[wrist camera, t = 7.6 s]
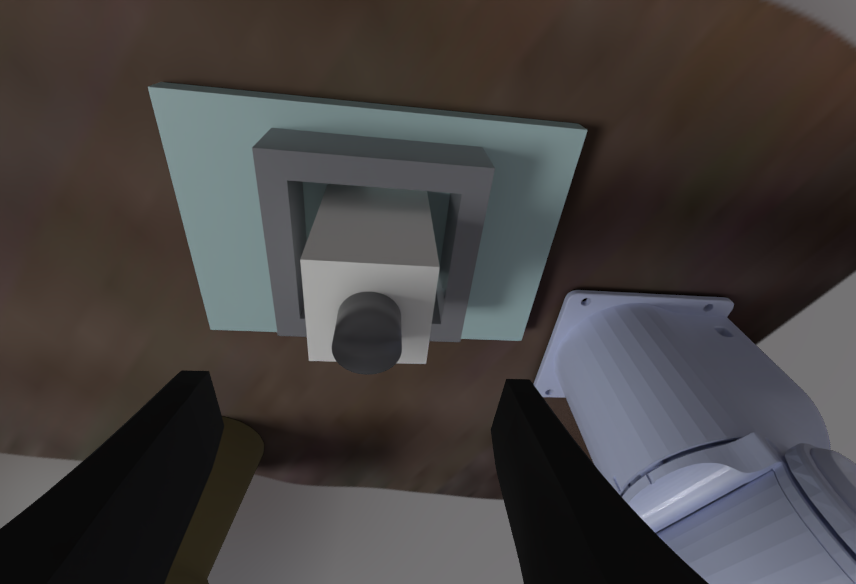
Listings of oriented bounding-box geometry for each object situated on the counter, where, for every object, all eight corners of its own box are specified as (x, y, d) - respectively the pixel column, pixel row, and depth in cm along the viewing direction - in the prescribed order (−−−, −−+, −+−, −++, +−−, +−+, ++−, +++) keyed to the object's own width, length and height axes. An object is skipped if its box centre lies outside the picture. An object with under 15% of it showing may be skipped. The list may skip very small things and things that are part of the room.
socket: (578, 123, 17) (615, 149, 14) (516, 328, 23) (533, 375, 20) (161, 82, 15) (106, 101, 12) (217, 316, 21) (190, 365, 18)
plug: (427, 190, 17) (444, 296, 11) (418, 271, 19) (428, 397, 13) (328, 182, 17) (289, 290, 10) (331, 266, 19) (300, 395, 13)
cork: (279, 461, 29) (227, 668, 20) (198, 476, 29) (112, 685, 20) (238, 407, 25) (153, 628, 16) (147, 425, 26) (17, 650, 17)
